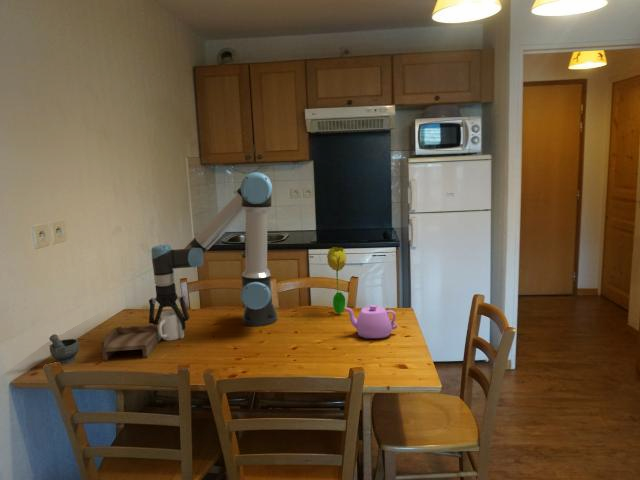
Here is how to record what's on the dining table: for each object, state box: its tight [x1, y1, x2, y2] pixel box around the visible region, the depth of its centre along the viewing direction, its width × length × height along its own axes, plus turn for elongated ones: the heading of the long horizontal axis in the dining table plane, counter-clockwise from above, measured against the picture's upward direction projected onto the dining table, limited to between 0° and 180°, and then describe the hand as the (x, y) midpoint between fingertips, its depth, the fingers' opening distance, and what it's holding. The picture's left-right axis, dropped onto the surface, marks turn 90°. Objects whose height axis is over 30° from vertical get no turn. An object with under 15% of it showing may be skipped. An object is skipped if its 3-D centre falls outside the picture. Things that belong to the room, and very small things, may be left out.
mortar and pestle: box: [48, 333, 80, 366], centre depth 177 cm, size 11×9×12 cm
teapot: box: [344, 304, 398, 339], centre depth 186 cm, size 20×13×12 cm, turn 84°
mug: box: [158, 309, 181, 342], centre depth 195 cm, size 12×8×10 cm
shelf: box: [100, 324, 160, 362], centre depth 184 cm, size 16×15×8 cm
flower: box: [326, 246, 347, 315], centre depth 211 cm, size 9×8×30 cm
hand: (171, 338), depth 196 cm, fingers closed on mug, 8 cm apart
